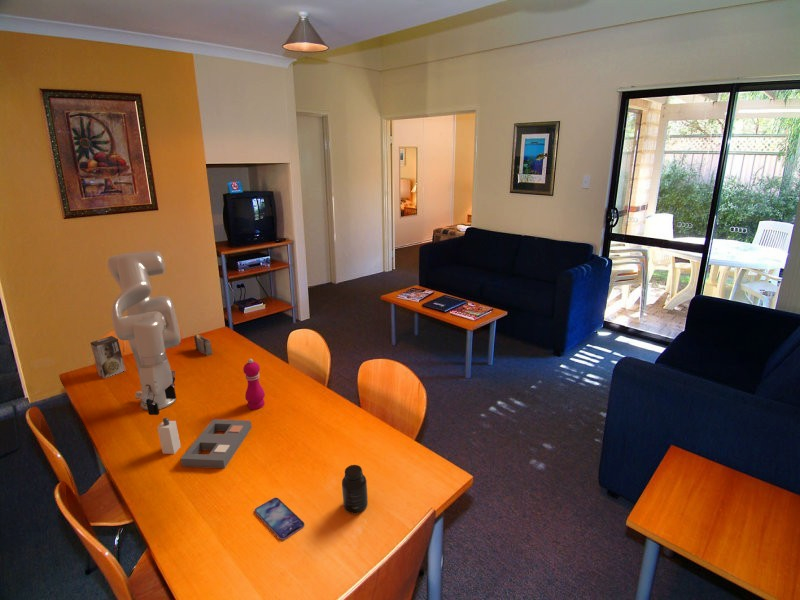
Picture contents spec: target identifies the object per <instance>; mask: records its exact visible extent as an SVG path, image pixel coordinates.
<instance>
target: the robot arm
mask: <svg viewBox="0 0 800 600" xmlns="http://www.w3.org/2000/svg"><path fill="white" fill-rule="evenodd" d="M107 267H108V270H109V272H110V274H111V276H112V277H113V279H114V281H115V282H116V283H117V284H118V286H119V288H120V290H121V292H120V294H119V295H118V296H117V297H116V299H115V300H114V301H113V304H112V306H111V311H110V312H111V313H110V314H111V320H112V326H113V330H114V333H115V334H114V335H116V338H117V339H118V340H122V341H128V344H129V346H130V349H131V351H132V355H133V356H134V359H135V360H134V361H135V365H136V369H137V373H138V376H139V382H140V389H141V391H140V390H137V391H136V392H135V399H139V400H141V401H140V408H141V409H143V410H146V411H148V415H149V416H159V415H160V410H162V409H165V408H167V407H169V406H171V405H172V404H174V403H175V402H176V400H177V394H176V389H175V387H176V384H175V381H176V377H175V376H176V371H175V370H172V369H171V365H170V363H169V360H168V356H167V351H166V349H172V348H175V347H178V346H179V345H180V343H181V342H182V337H181V336H182V335H181V332H180V326H179V322H178V317H177V314H176V310H175V306H174V302H173V300H172V298H171V297H169V296H167V295H160V296H159V295H158V296H153V297H151V296H150V295H151V293H152V291H153V290H152V285H151V282H150V281H151V280H150V279H149V277H154V276H160V275H164V274H165V272H166V263H165V259H164V256H163V254H161V252H160V251H158V250H145V251H137V252H127V253H121V254H115V255H113V256H110V257H109V258H107ZM125 312H126V314H127V315H126V316H125V315H124V316H123V314H124V313H125Z"/></svg>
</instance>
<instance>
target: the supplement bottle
mask: <svg viewBox="0 0 800 600" xmlns="http://www.w3.org/2000/svg"><path fill="white" fill-rule="evenodd" d="M341 488H342V489H341V490H342V503H343V508H344V510H345V511H346V512H348V513H350V514H359V513H360V514H361V513H362V512H364V511H365V510H366V509H367V507H368V504H369V503H368V501H369V499H368V483H367V478H366V476H365V475H364V473H363V468H362V467H361V465H357V464H351V465H348V466H347V467H346V468H345V469H344V476H343V478H342V479H341Z"/></svg>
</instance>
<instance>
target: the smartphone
mask: <svg viewBox="0 0 800 600" xmlns="http://www.w3.org/2000/svg"><path fill="white" fill-rule="evenodd" d="M254 513H255V515H257V517H258V518H259V519H260V520H261V521H262V522H263V523H264V524H265V525H266V526H267V528H269V530H270V531H271V532H273V534H274V535H275V536H276V537H277V538H278V539H279V540H280V541H285V540H288V539H290V538H291V536H293V535H295V534H296V533H298V532H299V531H301V530H302V529H304V528H305V524H306V523H305V522H304V521H303V520H302V518H300V517H299V516H298V515H297V514H296V513H295V512H293V510H292V509H290V508H289V507H288V506H287V505H286V504H285V503H284V502H283V501H282V500H281V499H280V498H279V497H273V498H271V499H269V500H268V501H265V502H264V503H262V504H260V505H259V506H257V507H256V508H255V509H254Z"/></svg>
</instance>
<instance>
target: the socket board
mask: <svg viewBox="0 0 800 600" xmlns="http://www.w3.org/2000/svg"><path fill="white" fill-rule="evenodd" d="M251 430H252V422H251V420H245V419H244V420H242V419H217V418H216V419H214V418H213V419H212V420H211V421H210V422H209V423H208V424H207V426H206V427H205V428H204V429H203V431H202V432H201V433H200V434H199V436H198V437H197V438H196V439H195V440H194V442H193V443H192V444H191V446H189V448H188V449H187V450H186V451H185V453H184V454H183V455H182V456H181V458H180V462H181V467H187V468H188V467H189V468H208V469H209V468H210V469H211V468H212V469H225V468H226V467H227V466H228V464H229V463H230V461H231V460H232V458H233V457H234V455H235V454H236V452H237V451H238V449H240V448H239V447H240V446H241V445H242V443H243V442H244V440H245V438H246V437H247V435H248V434H249V432H250V431H251ZM216 432H224V433H216ZM201 451H210V452H209V453H208V454H205V453H204V454H201V453H200V452H201Z"/></svg>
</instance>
